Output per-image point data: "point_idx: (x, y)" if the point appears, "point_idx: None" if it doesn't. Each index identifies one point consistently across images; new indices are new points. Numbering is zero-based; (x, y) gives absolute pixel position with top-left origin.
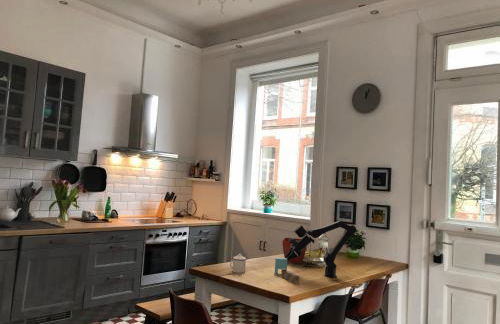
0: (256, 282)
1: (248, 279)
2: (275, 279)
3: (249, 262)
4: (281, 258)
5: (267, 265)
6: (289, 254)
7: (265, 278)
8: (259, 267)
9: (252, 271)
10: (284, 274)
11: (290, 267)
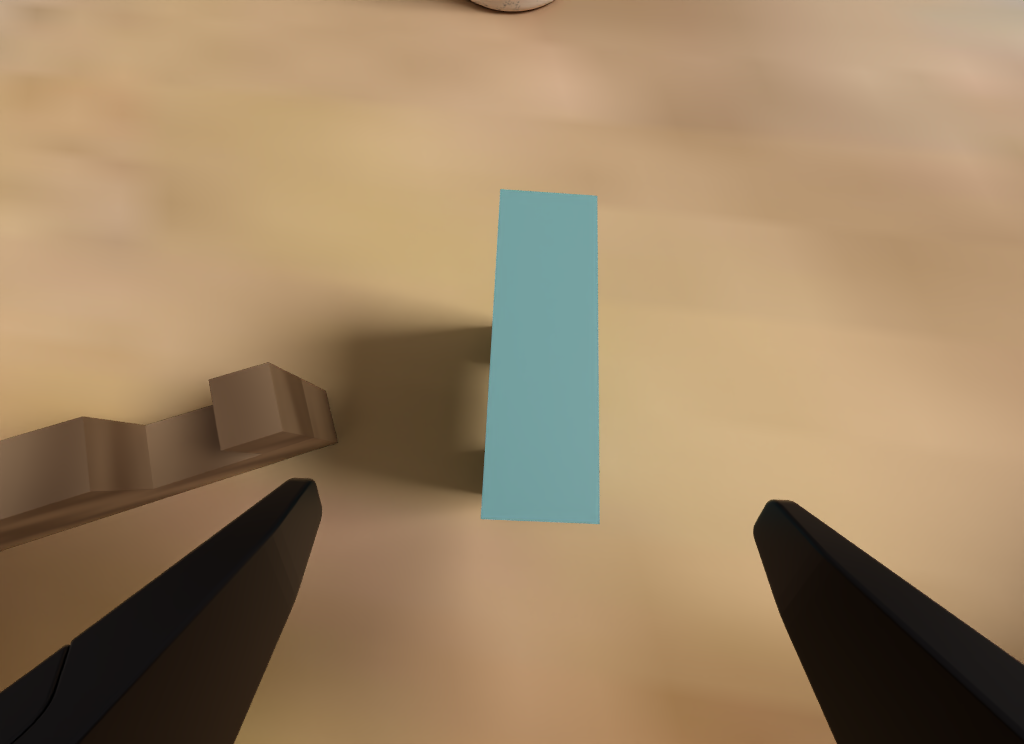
0: (13, 77)
1: (153, 18)
2: (150, 294)
3: (1019, 93)
4: (545, 343)
5: (958, 283)
6: (855, 681)
7: (203, 184)
8: (789, 175)
9: (543, 84)
10: (181, 415)
11: (994, 633)
